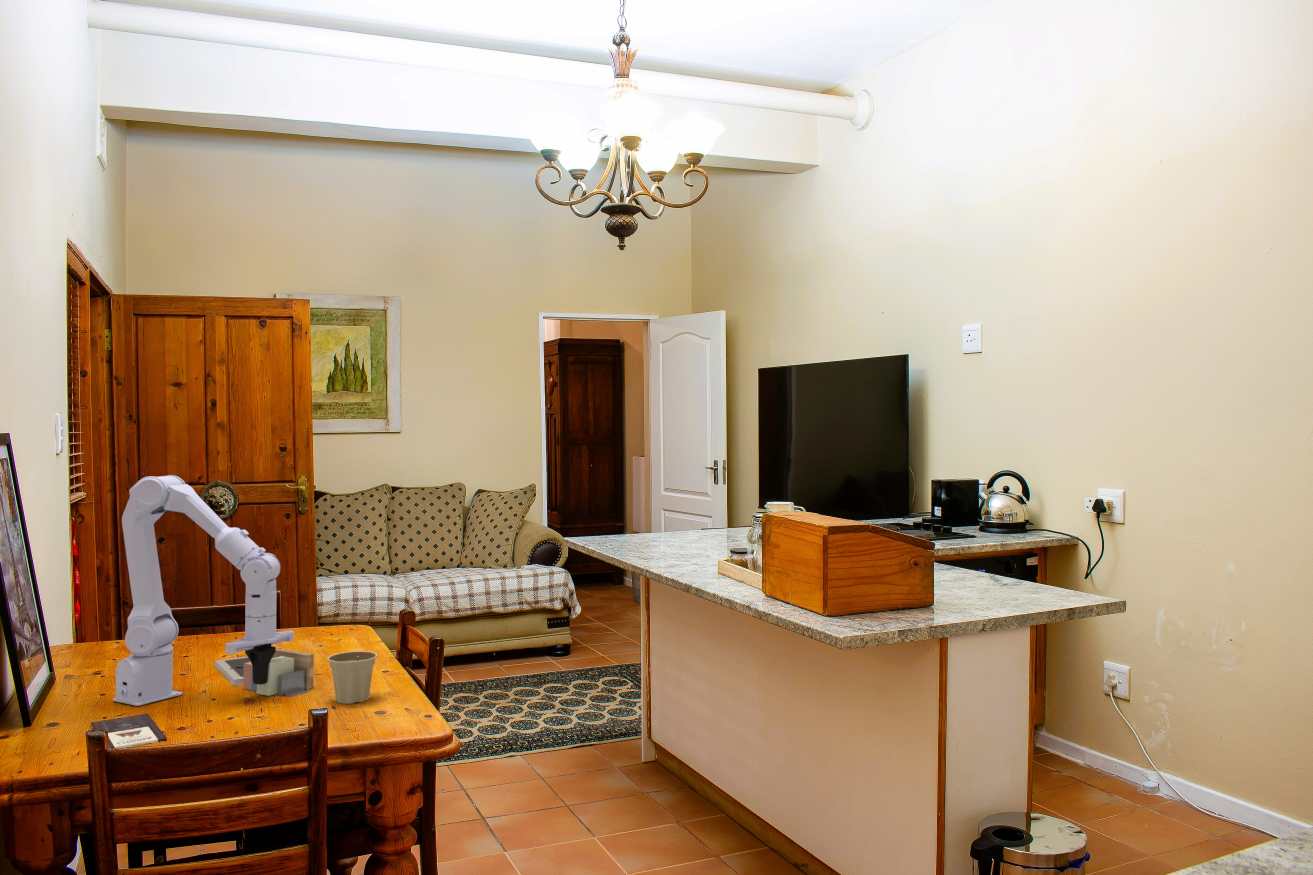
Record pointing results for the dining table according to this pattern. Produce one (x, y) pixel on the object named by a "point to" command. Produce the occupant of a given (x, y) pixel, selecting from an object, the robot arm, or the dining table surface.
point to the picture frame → (232, 669)
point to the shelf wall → (300, 663)
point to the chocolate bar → (130, 731)
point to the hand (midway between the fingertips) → (260, 683)
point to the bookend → (292, 683)
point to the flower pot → (352, 675)
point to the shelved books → (248, 677)
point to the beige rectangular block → (275, 674)
